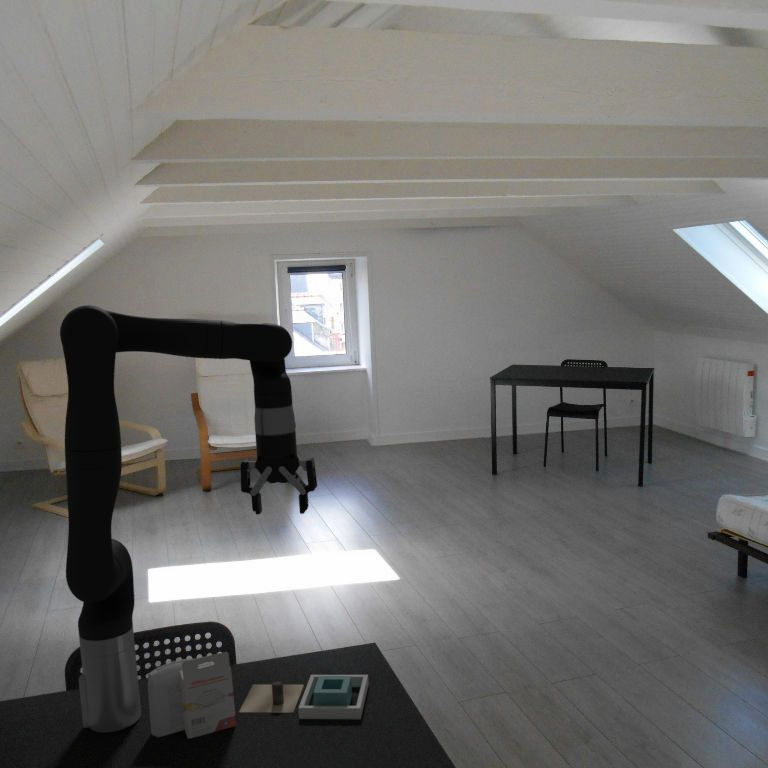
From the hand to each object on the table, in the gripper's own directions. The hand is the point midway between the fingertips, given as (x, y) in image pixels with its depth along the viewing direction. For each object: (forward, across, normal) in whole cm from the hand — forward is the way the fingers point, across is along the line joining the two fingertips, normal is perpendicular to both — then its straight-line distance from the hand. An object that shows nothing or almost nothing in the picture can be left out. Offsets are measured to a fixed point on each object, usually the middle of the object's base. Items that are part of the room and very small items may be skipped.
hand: (280, 513), depth 153 cm
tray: (+34, +10, -9) cm, 37 cm away
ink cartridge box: (+34, -11, -17) cm, 40 cm away
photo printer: (+34, -16, -17) cm, 42 cm away
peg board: (+34, -2, -8) cm, 35 cm away
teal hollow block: (+33, +10, -10) cm, 36 cm away
